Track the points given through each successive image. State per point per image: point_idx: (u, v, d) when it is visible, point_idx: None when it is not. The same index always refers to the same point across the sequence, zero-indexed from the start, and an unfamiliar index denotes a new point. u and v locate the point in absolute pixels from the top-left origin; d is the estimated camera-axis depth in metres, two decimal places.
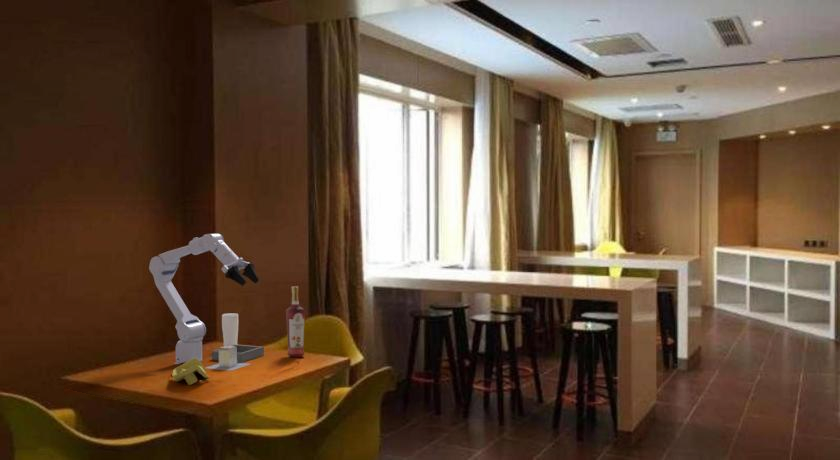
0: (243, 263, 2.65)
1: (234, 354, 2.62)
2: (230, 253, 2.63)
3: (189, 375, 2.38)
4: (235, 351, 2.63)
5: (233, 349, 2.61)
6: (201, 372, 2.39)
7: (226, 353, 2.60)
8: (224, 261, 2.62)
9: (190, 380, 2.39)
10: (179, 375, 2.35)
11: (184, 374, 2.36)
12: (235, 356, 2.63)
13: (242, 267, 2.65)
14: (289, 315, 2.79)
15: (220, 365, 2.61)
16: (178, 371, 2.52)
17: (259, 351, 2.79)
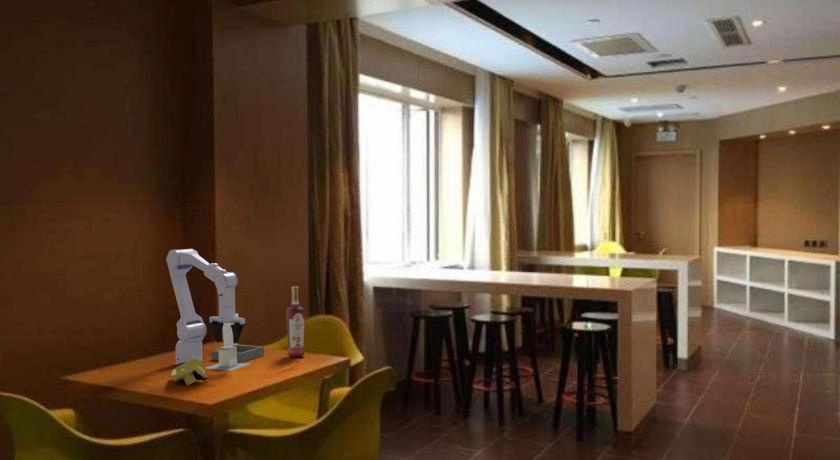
0: (230, 320, 2.59)
1: (234, 354, 2.62)
2: (220, 307, 2.60)
3: (187, 375, 2.38)
4: (235, 351, 2.63)
5: (233, 349, 2.61)
6: (199, 372, 2.39)
7: (226, 353, 2.60)
8: None
9: (188, 380, 2.38)
10: (177, 375, 2.35)
11: (182, 374, 2.35)
12: (235, 356, 2.63)
13: (232, 322, 2.61)
14: (289, 315, 2.79)
15: (220, 365, 2.61)
16: (178, 371, 2.52)
17: (259, 351, 2.79)
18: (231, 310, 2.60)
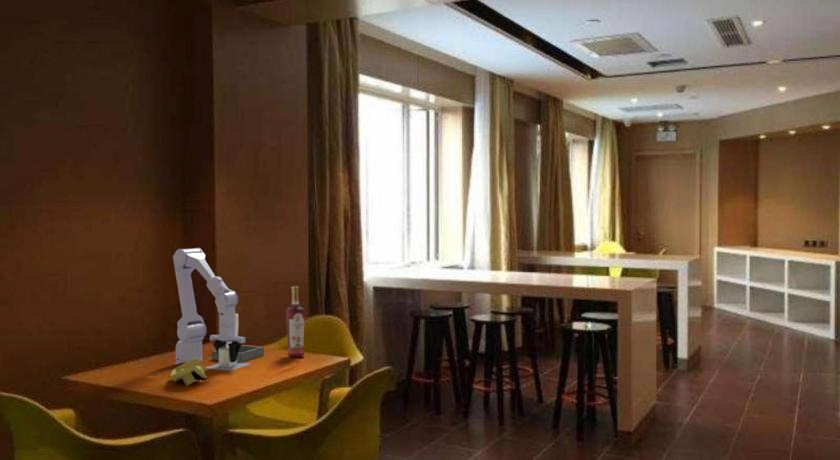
0: (231, 339, 2.60)
1: None
2: (220, 326, 2.60)
3: (186, 375, 2.38)
4: None
5: None
6: (198, 372, 2.38)
7: (226, 353, 2.60)
8: None
9: (187, 380, 2.38)
10: (176, 375, 2.35)
11: (181, 374, 2.35)
12: None
13: None
14: (289, 315, 2.79)
15: (220, 365, 2.61)
16: (178, 371, 2.52)
17: (259, 351, 2.79)
18: (232, 329, 2.60)
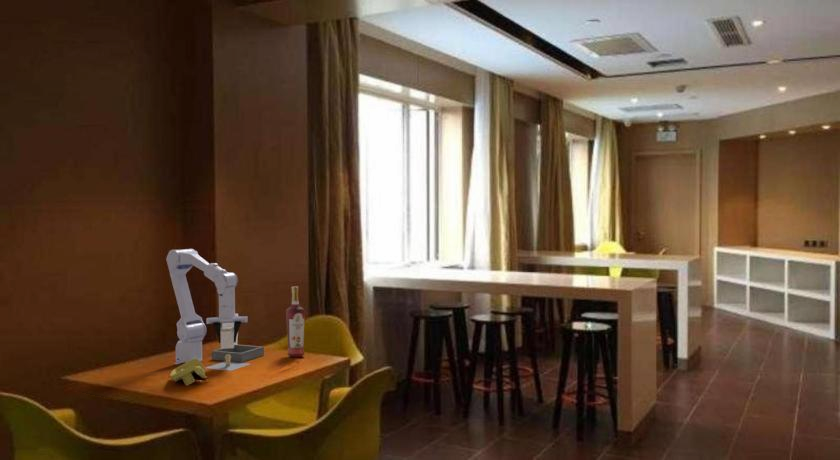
0: (234, 320, 2.61)
1: None
2: (223, 307, 2.59)
3: (186, 375, 2.38)
4: None
5: None
6: (198, 373, 2.38)
7: (230, 334, 2.60)
8: None
9: (187, 380, 2.38)
10: (176, 375, 2.35)
11: (181, 374, 2.35)
12: None
13: (233, 321, 2.62)
14: (289, 315, 2.79)
15: (222, 347, 2.60)
16: (178, 371, 2.52)
17: (259, 351, 2.79)
18: (234, 309, 2.62)
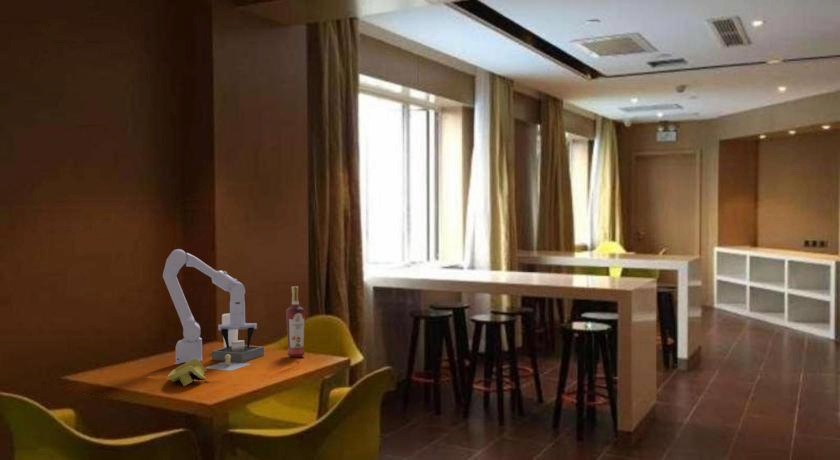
0: (244, 326, 2.76)
1: None
2: (234, 315, 2.74)
3: (184, 376, 2.37)
4: None
5: None
6: (195, 373, 2.37)
7: (241, 346, 2.75)
8: None
9: (185, 381, 2.37)
10: (173, 376, 2.35)
11: (178, 375, 2.35)
12: None
13: (244, 328, 2.77)
14: (289, 315, 2.79)
15: None
16: (178, 371, 2.52)
17: (259, 351, 2.79)
18: (244, 316, 2.77)
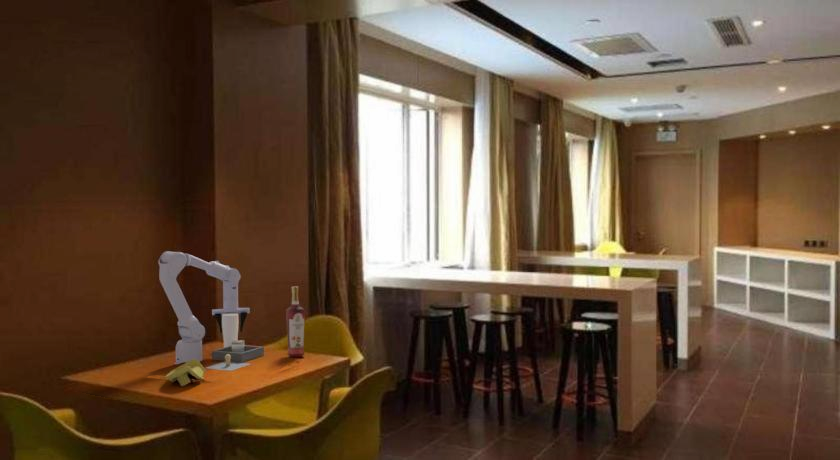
0: (238, 311, 2.84)
1: None
2: (228, 300, 2.81)
3: (181, 376, 2.37)
4: None
5: None
6: (193, 374, 2.37)
7: (241, 347, 2.75)
8: None
9: (182, 381, 2.37)
10: (170, 376, 2.34)
11: (175, 375, 2.34)
12: None
13: (237, 312, 2.85)
14: (289, 315, 2.79)
15: None
16: None
17: (259, 351, 2.79)
18: (237, 301, 2.84)
